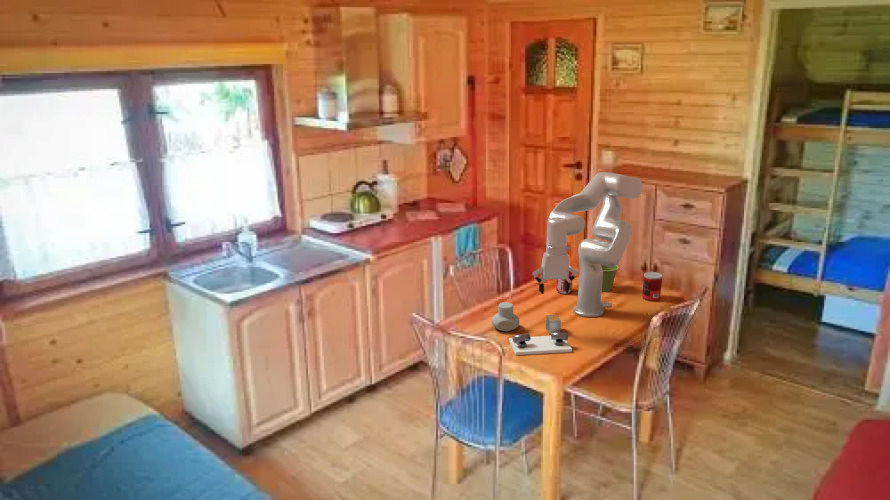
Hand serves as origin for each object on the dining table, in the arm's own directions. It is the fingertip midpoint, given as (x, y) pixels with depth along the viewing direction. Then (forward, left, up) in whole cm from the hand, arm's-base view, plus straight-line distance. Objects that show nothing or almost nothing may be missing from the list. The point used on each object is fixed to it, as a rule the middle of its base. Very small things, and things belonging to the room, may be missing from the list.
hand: (554, 292), depth 259 cm
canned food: (-52, -28, -17) cm, 62 cm away
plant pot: (-35, -41, -17) cm, 56 cm away
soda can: (-16, -40, -17) cm, 46 cm away
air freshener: (+18, -5, -17) cm, 25 cm away
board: (+8, +13, -16) cm, 22 cm away
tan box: (0, 0, -16) cm, 16 cm away
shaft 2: (+1, +13, -15) cm, 20 cm away
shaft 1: (+15, +13, -15) cm, 25 cm away
